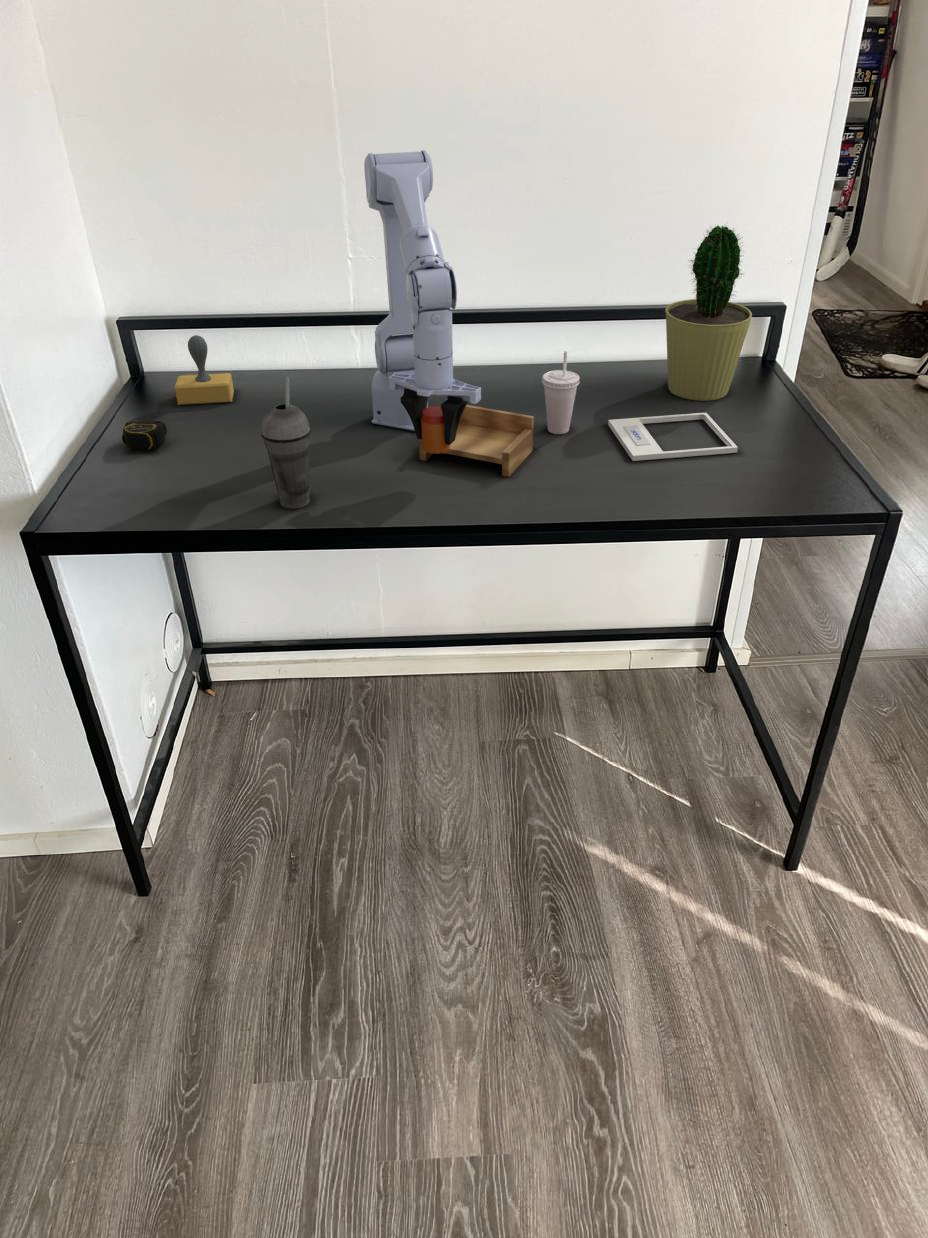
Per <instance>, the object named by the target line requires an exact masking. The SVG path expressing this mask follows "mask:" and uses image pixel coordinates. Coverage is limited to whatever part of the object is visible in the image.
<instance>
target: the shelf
mask: <svg viewBox="0 0 928 1238" xmlns="http://www.w3.org/2000/svg"><path fill="white" fill-rule="evenodd" d="M534 424H535V416H534V415H528V414H522V413H517V412H510V411H506V410H499V409H495V408H487V407H482V406H477V405H476V406H475V405H470V404H467V405H466V407H465V409H464V411H463V413H462V416H461V418H460V421H459V424H458V428H457V432H456V438H455V441H454V442H453V443H452V444H450V449H449V450H448V451H447V452H444V453H443V454H447V455H451V456H452V455H453V456H457V457H461V458H468V459H473V460H478V461H482V462H488V463H494V464H497V465H498V464H499V465H501V476H502V477H506V478H510V476H511V475H512V474H513V473H514V472H515V471H516V470H517V468H519V467H520V466H521V464H522V463H523V462H524V461H525V460H526V459H527V458H528V457H529V455H530V454H531V453H532V452H533V451H534V428H535V427H534ZM418 448H419V450H418V451H419V460H421V461H428V460H429V459H430V458H431V457H432V456H433V455H434V454H432V453H427V452H425V451H424V450H423V449H422V439H418Z"/></svg>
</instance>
